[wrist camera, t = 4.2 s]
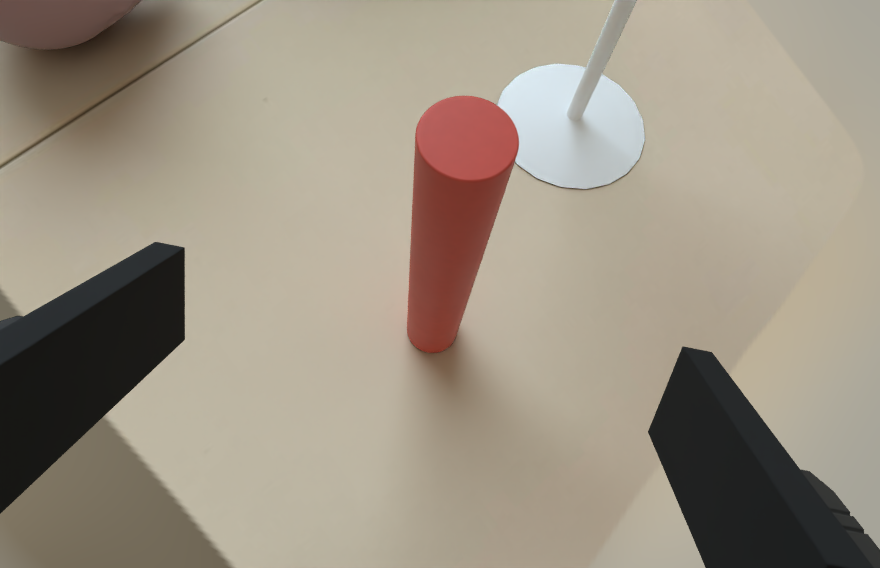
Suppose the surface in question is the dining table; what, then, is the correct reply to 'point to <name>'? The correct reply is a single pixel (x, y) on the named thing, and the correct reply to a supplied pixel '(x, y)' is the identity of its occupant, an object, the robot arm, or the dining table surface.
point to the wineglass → (577, 117)
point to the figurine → (58, 21)
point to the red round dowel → (454, 210)
